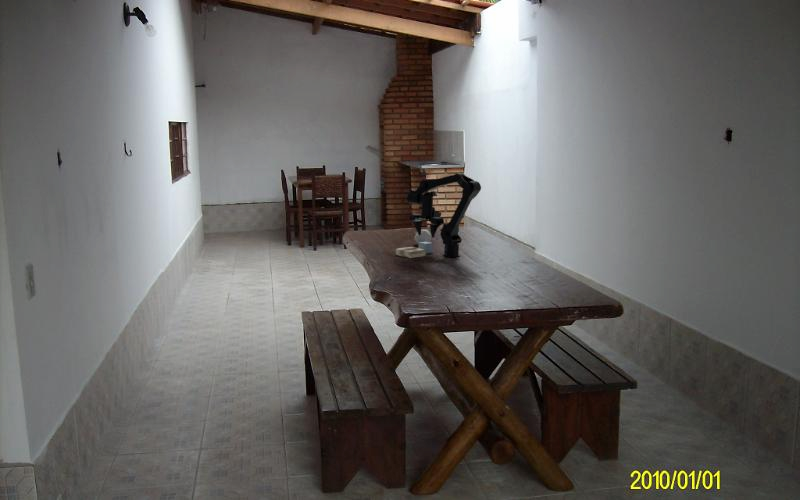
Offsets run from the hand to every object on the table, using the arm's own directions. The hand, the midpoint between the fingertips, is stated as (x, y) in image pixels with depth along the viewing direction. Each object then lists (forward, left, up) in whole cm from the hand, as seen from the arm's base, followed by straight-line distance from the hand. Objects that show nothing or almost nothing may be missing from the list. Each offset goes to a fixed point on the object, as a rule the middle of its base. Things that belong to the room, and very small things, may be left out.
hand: (426, 236), depth 360 cm
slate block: (0, 0, -8) cm, 8 cm away
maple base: (-2, +12, -8) cm, 15 cm away
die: (+17, -15, -8) cm, 24 cm away
